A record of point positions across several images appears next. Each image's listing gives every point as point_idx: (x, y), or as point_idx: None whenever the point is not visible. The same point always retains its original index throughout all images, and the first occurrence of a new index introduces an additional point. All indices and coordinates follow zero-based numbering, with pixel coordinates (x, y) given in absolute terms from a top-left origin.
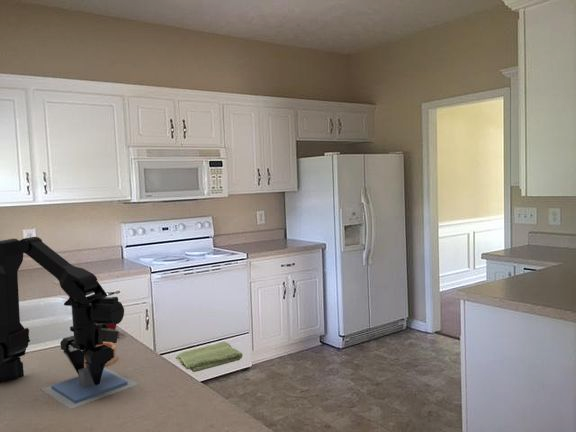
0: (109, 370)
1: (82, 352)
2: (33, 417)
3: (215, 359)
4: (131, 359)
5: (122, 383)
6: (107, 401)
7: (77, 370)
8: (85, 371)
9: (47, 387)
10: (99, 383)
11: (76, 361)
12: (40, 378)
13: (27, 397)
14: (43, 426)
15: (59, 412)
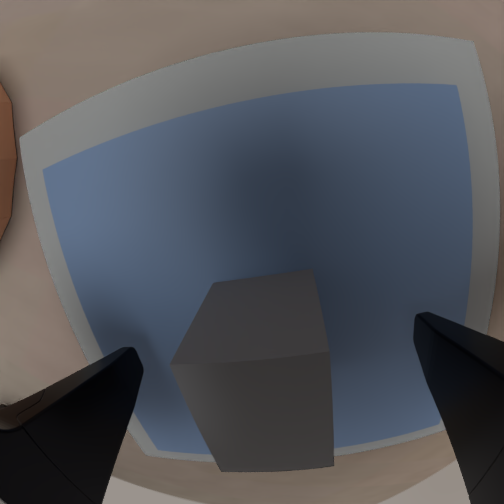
0: (64, 117)
1: (9, 463)
2: (364, 485)
3: None
4: (6, 9)
5: (463, 128)
6: (499, 270)
7: (128, 411)
8: (324, 455)
9: (142, 441)
10: (428, 312)
11: (89, 463)
12: (23, 385)
13: (173, 471)
14: (446, 464)
15: (408, 441)
